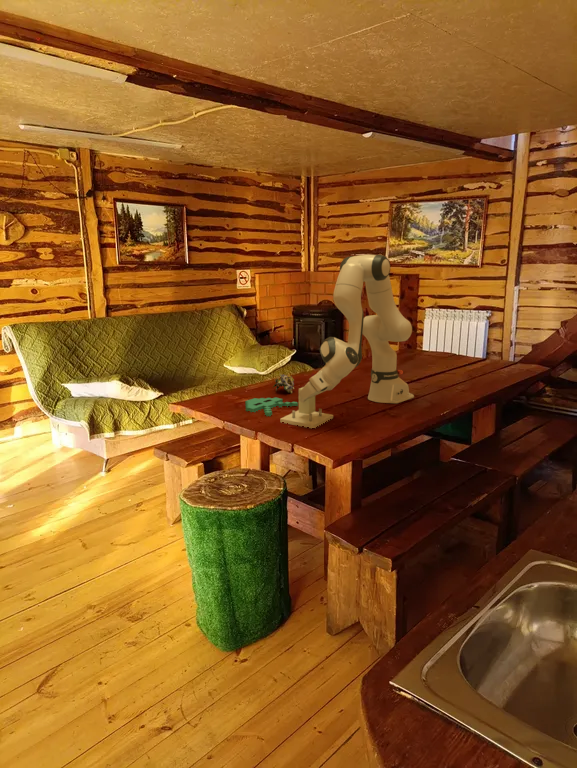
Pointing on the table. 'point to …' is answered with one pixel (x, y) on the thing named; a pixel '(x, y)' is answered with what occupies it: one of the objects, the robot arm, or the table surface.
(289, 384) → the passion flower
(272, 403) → the alien figure
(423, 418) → the table surface
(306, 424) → the pin plate
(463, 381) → the table surface
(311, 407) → the beige rectangular block
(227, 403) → the table surface
